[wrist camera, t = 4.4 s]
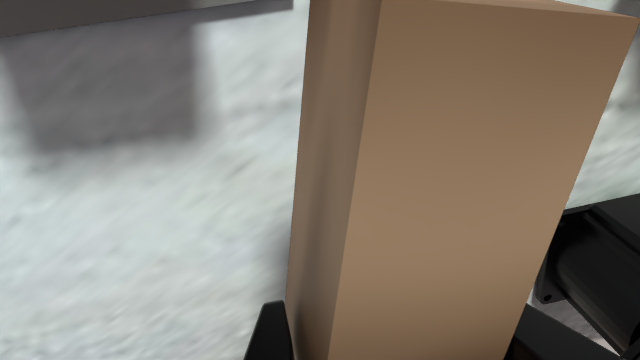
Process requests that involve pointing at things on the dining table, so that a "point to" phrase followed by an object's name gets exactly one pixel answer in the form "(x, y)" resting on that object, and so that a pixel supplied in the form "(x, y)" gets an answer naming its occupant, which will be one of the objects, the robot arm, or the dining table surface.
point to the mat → (85, 12)
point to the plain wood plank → (437, 168)
